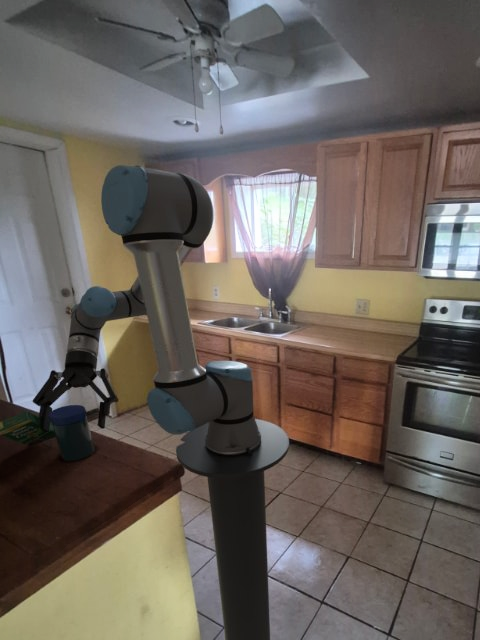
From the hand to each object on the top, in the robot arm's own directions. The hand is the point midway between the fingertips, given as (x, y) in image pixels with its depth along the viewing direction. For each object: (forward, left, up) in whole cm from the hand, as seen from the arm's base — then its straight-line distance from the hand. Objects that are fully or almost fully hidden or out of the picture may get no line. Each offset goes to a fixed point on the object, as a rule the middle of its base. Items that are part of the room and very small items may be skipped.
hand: (73, 428), depth 95 cm
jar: (0, 0, -7) cm, 7 cm away
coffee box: (+12, +3, -5) cm, 13 cm away
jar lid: (0, 0, +5) cm, 5 cm away
